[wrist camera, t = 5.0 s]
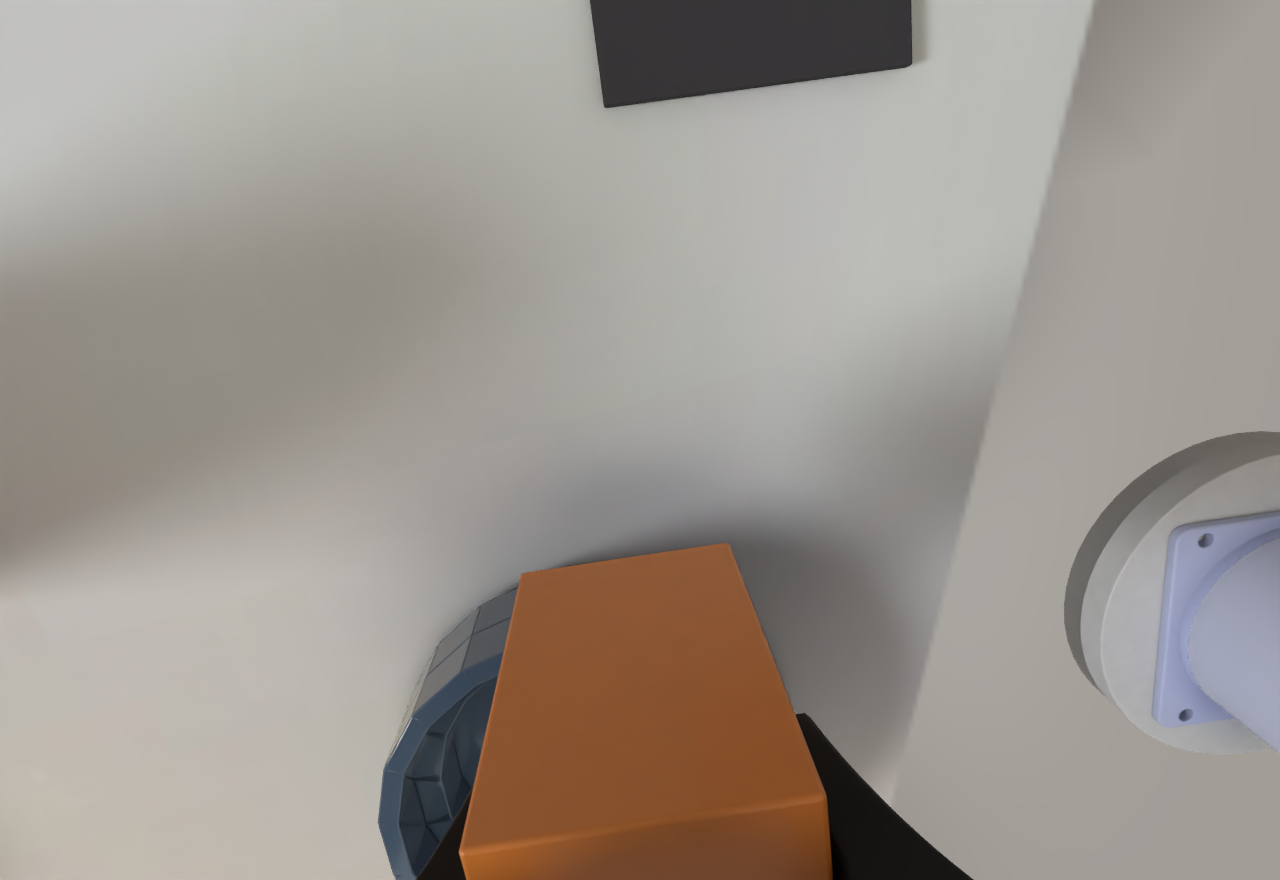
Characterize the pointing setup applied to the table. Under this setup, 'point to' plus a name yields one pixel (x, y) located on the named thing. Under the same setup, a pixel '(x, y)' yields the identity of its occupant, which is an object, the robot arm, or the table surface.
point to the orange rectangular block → (643, 734)
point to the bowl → (442, 738)
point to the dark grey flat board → (741, 44)
